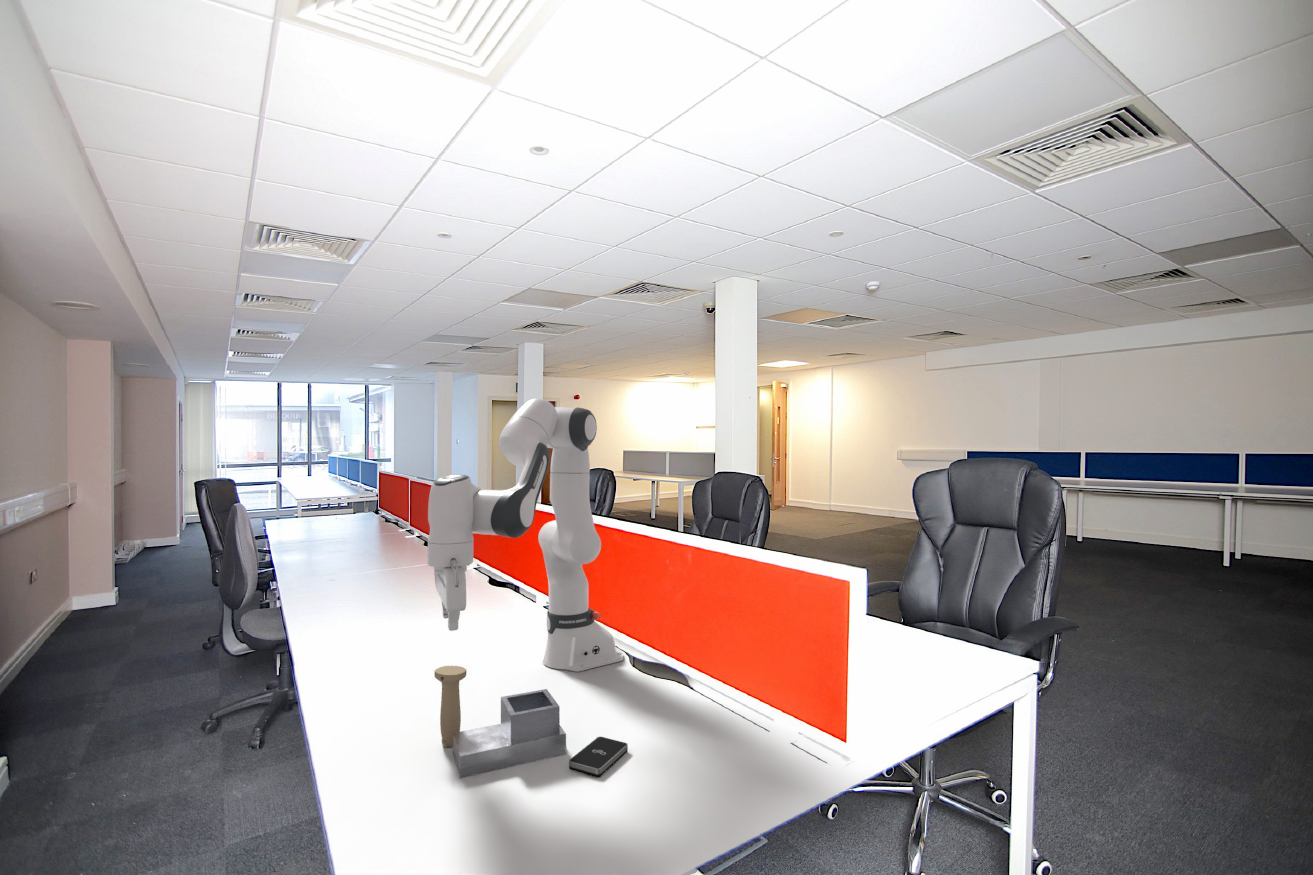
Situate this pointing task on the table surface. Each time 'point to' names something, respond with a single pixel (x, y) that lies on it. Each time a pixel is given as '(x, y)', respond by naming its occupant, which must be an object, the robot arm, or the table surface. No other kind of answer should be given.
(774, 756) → the table surface
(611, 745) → the external hard drive
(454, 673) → the handle
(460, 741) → the duct
